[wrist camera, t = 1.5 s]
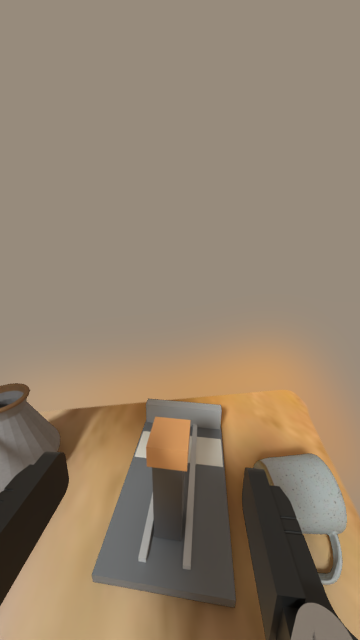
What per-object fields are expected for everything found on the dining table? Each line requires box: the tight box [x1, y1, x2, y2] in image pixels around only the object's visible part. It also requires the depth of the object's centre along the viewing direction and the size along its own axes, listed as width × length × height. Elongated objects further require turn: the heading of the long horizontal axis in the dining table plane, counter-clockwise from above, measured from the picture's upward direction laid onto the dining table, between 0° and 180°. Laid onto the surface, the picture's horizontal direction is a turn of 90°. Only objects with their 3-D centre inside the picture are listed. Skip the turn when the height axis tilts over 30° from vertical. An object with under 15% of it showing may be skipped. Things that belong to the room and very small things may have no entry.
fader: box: [146, 417, 191, 541], centre depth 23 cm, size 4×4×13 cm
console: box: [92, 399, 236, 608], centre depth 31 cm, size 22×14×5 cm, turn 173°
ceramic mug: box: [253, 454, 347, 585], centre depth 25 cm, size 11×8×8 cm
